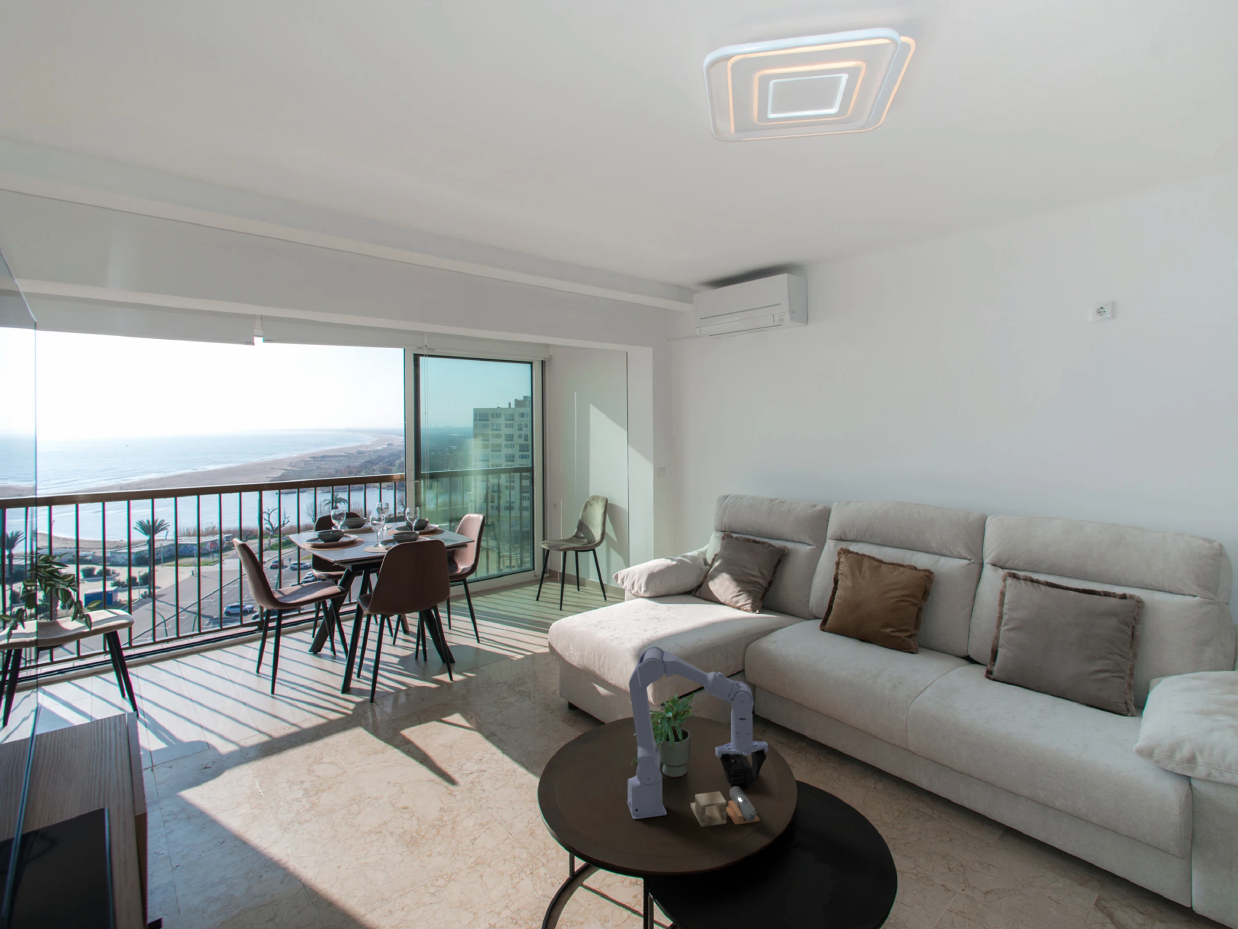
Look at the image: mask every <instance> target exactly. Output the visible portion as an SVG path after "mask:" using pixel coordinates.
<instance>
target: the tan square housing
mask: <svg viewBox="0 0 1238 929" xmlns="http://www.w3.org/2000/svg"><path fill="white" fill-rule="evenodd" d="M694 795H695V796H694V800H695V801H694V802H690V809H691V810H692V811H693V814H694V816H695V817H696V819H697V821H698V823H699V825H700V827H703V828H704V827H710V826H715V825H716V826H717V825H723V824H724V825H725V824H727V811H726V807H727V801H726V799H725V798H724V796H723V794H722V793H721V791H713V792H712V791H710V792H704V793H696V794H694Z"/></svg>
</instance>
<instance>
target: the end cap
mask: <svg viewBox="0 0 1238 929" xmlns="http://www.w3.org/2000/svg"><path fill="white" fill-rule="evenodd" d="M729 756H730V759H731V760H732V762H733V763H732V770H731V777H732V780H731V783H729V786H730V789H731V788H732V787H734V786H738V787H740V788H741V790H745V789H748V788H749V787H751V786H753V785H754V783H755V782H756V780H755V778H754V777H753V776H752V763H751V762H750V761H749V760H750V759H748V757H747V756H744V755H743V754H732V755H729Z"/></svg>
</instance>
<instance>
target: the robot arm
mask: <svg viewBox="0 0 1238 929" xmlns="http://www.w3.org/2000/svg"><path fill="white" fill-rule="evenodd" d="M664 674H665V675H664ZM675 675H678V676H680V677H682V678H685V679H687V680H690V681H692V682H694V683H697V684H699V685H701V686H703V689H704V691H705V692H706V693H708V694H710V695H712V696H714V697H716V698H718V699H720V700H722V701H724V702H726V703H730V704H731V713H730V734H731V735H730V742H728V743H726V744H723V745H720V746H715V750H714V753H715V756H716V757H717V758H719V760H720V762H721V764H722V767H723V770H724V775H725V780H726V781H727V783H731V780H732V777H731V770H732V763H733V760H731V759H730V756H729V755H732V754H743V755H744V756H746V757H747V756H751V766H752V776H753V777H754V778H755V781H756V780H758V779H759V776H760V772H761V770H762V766H763V765H764V763H765V761H766V760H767V754H766V753H767V752H769V744H768V743H767V741H758V740H757V741H755V740H754V739H753V738H754V737H753V736H754V735H753V732H754V731H753V724H754V723H753V713H752V712H753V707H754V704H755V701H754V698H753V693H752V690H751V687H750V686H749V685H748V684H747V683H745V682H744V681H741V680H740V681H738V680H732V679H731V678H728V677H726V676H724V674H723V672H722V671H718V672H716V671H711V672H706V671H704V670H703V669H700V668H699V667H697V666H694V665H692V664H691V663H689V662H687V661H685V660H684V659H682V658H680V657H678V656H676V655H675V654H674V653H672V652H670V651H669V650H665V649H664V650H663V649H662V648H660V647H659V646H651V647H648V648H647V649H646V650H644V652H643V653H641V655H640V656H639V659H638V661H637V663H636V665H635V667H634V669H633V672H632V673H631V675H630V678H629V682H628V689H629V695H630V701H631V709H632V715H633V717H632V718H633V721H634V728H635V729H634V730H635V737H636V744H637V767H636V772H635V773H636V775H635V776H633V777H631V778H628V779H627V801H626V802H627V806H628V809H629V812H630V815H631V817H632V819H633V820H638V819H646V818H653V817H661V816H666V815H667V810H666V808H665V805H664V804H663V774H662V772H661V770H660V767H661V761H662V753H661V751H660V749H659V748H658V746H657V741H656V740H655V736H654V729H653V721H652V716H651V714H652V713H651V709H650V701H649V695H648V687H649V686H650V685H651V684H652V683H654V682H656V681H658V680H660V679H661V678H662V677H663V676H664V678H669V677H672V676H675Z"/></svg>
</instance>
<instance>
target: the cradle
mask: <svg viewBox="0 0 1238 929" xmlns="http://www.w3.org/2000/svg"><path fill="white" fill-rule="evenodd" d="M726 814H728V816H729V817H730V819H731V820H732V822H733V824H734V825H741V824H748V823H754V822H756V823H757V822H760V821H761V820H760V818H759V816H758V815H757V814H756V817H755V818H754V819H753V820H751V821H748V820H746V819H745V818H744V817H743V815H742V814H741V812H740V810H739V809H738V807H737V806H736V804H735V803H734V801H733V800H732V799H731V800H728V806H726Z"/></svg>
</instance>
